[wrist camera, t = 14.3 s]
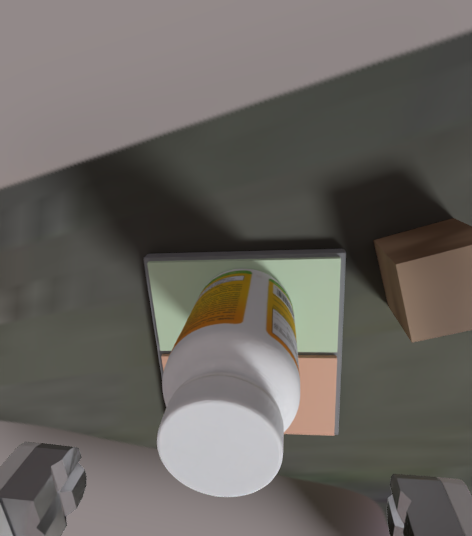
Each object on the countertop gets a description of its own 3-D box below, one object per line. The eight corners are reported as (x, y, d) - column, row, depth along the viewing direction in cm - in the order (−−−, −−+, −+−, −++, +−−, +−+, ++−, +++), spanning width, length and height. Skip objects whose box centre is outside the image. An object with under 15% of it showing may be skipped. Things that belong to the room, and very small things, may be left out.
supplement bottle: (186, 333, 21) (116, 481, 12) (215, 251, 19) (157, 353, 10) (272, 365, 21) (268, 536, 12) (309, 286, 19) (337, 419, 10)
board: (343, 248, 19) (346, 254, 18) (336, 425, 23) (339, 438, 22) (148, 253, 21) (141, 259, 20) (172, 419, 25) (168, 431, 24)
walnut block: (452, 217, 18) (497, 238, 15) (463, 287, 20) (507, 322, 16) (373, 239, 19) (395, 264, 15) (387, 304, 20) (412, 342, 17)
